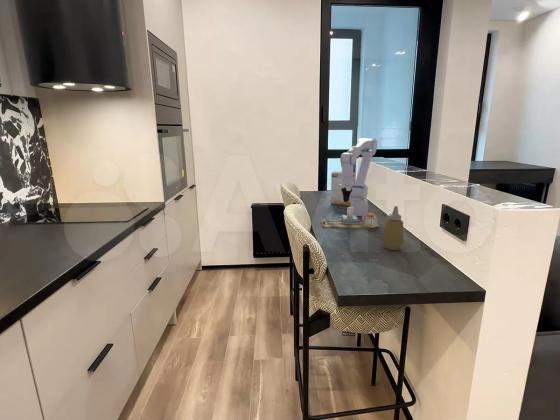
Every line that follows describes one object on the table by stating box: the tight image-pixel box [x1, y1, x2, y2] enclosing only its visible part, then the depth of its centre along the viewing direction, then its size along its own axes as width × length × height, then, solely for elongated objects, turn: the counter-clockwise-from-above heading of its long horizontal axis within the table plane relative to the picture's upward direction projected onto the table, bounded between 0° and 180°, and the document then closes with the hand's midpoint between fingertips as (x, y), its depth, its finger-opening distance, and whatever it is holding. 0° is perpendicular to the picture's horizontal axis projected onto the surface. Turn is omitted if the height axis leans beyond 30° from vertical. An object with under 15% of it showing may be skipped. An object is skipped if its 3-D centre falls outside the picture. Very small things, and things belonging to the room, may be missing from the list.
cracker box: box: [330, 170, 356, 207], centre depth 207 cm, size 14×6×21 cm, turn 58°
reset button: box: [365, 212, 375, 217], centre depth 165 cm, size 4×4×4 cm
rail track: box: [321, 218, 380, 229], centre depth 167 cm, size 28×9×3 cm, turn 87°
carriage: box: [341, 206, 359, 224], centre depth 166 cm, size 7×7×8 cm
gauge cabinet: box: [361, 213, 378, 226], centre depth 166 cm, size 6×8×5 cm
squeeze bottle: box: [382, 205, 405, 251], centre depth 133 cm, size 8×8×18 cm
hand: (345, 201), depth 172 cm, fingers closed
